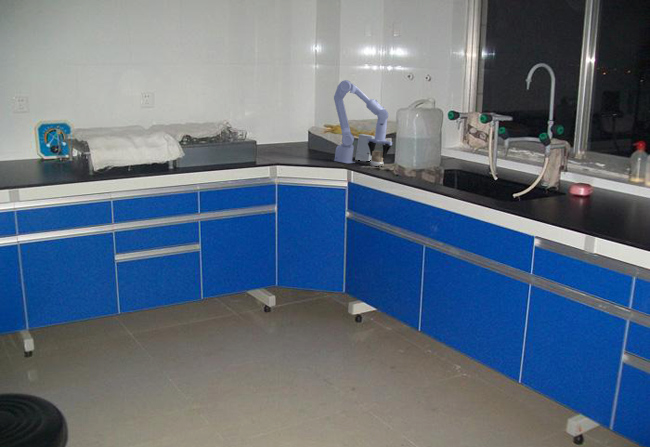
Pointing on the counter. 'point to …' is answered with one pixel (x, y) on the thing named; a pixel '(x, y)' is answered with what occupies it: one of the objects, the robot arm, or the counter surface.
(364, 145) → the skincare box
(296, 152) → the counter surface
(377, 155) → the beech block
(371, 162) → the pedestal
